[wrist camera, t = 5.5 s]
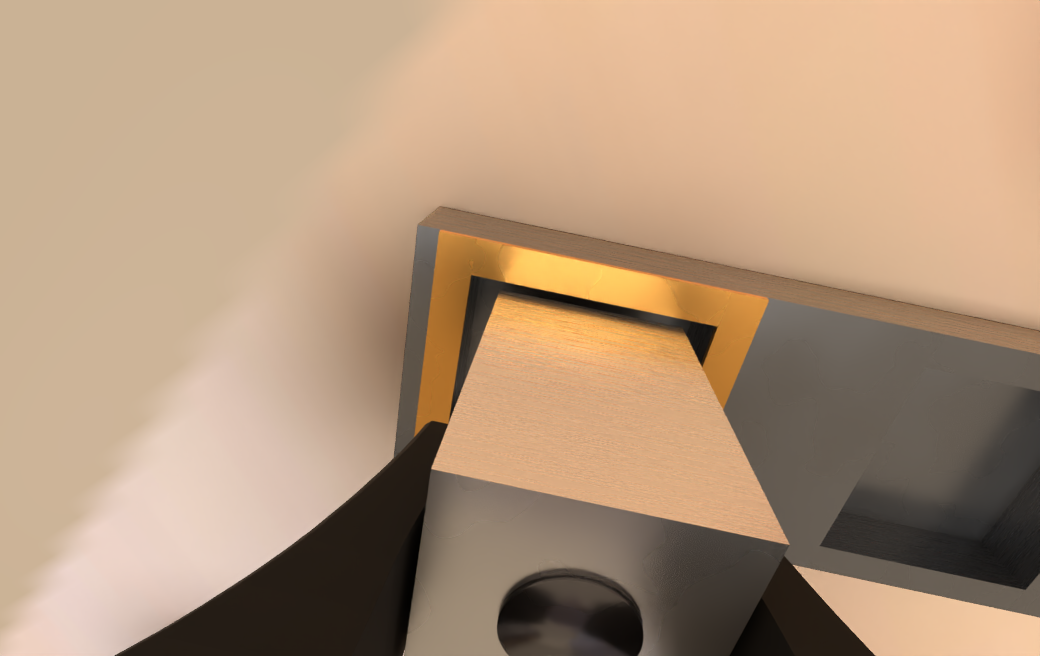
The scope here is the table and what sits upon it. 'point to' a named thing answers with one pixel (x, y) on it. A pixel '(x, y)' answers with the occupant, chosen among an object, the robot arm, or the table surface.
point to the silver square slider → (588, 498)
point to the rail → (789, 397)
